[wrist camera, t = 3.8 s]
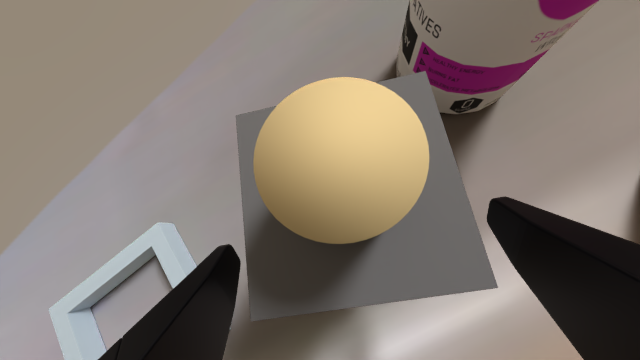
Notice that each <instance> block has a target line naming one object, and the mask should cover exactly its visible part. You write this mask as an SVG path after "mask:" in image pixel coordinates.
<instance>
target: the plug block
mask: <svg viewBox="0 0 640 360" xmlns="http://www.w3.org/2000/svg"><path fill="white" fill-rule="evenodd" d="M236 125H237V139H238V153H239V166H240V180H241V194H242V208H243V221H244V235H245V249H246V262H247V276H248V290H249V304H250V317H251V321H257V320H265V319H272V318H280V317H287V316H294V315H302V314H309V313H316V312H324V311H331V310H339V309H346V308H353V307H361V306H368V305H375V304H383V303H390V302H397V301H405V300H412V299H420V298H427V297H434V296H442V295H449V294H456V293H464V292H471V291H478V290H486V289H493V288H498V286H497V283H496V280H495V277H494V274H493V271H492V268H491V265H490V262H489V259H488V256H487V253H486V250H485V247H484V244H483V241H482V238H481V235H480V232H479V229H478V227H477V224H476V221H475V218H474V215H473V212H472V209H471V206H470V203H469V200H468V197H467V194H466V191H465V188H464V185H463V182H462V179H461V176H460V173H459V170H458V167H457V164H456V161H455V158H454V155H453V152H452V149H451V146H450V143H449V140H448V137H447V134H446V131H445V128H444V125H443V122H442V119H441V116H440V113H439V110H438V107H437V104H436V101H435V98H434V95H433V92H432V89H431V86H430V83H429V80H428V77H427V74H426V71H423V72H419V73H414V74H410V75H406V76H402V77H397V78H393V79H389V80H385V81H380V82H376V83H375V82H372V81H368V80H365V79H359V78H349V77H339V78H330V79H324V80H320V81H317V82H314V83H311V84H309V85H306V86H304V87H302V88H300V89H298V90H297V91H295V92H293V93H292V94H290V95H289V96H288V97H286V98H285V99H284V100H283V101H282V102H281V103H279V104H278V105H277V106H274V107H270V108H266V109H262V110H257V111H253V112H249V113H245V114H240V115H236Z"/></svg>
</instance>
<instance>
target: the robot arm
mask: <svg viewBox="0 0 640 360" xmlns="http://www.w3.org/2000/svg"><path fill="white" fill-rule="evenodd" d="M487 222H488V225H489V227H490V228H491V230H492V232H493V233H494V235H495V237H496V238H497V240H498V242H499V243H500V245H501V247H502V248H503V250H504V252H505V253H506V255H507V256H508V258H509V260H510V261H511V263H512V264H513V266H514V267H515V269H516V270H517V272H518V273H519V274H520V276H521V277H522V278H523V280H524V281H525V282H526V284H527V285H528V286H529V288H530V289H531V290H532V292H533V293H534V294H535V296H536V297H537V298H538V300H539V301H540V302H541V304H542V305H543V306H544V308H545V309H546V310H547V312H548V313H549V314H550V316H551V317H552V318H553V319H554V321H555V322H556V323H557V325H558V326H559V327H560V329H561V330H562V331H563V333H564V334H565V335H566V337H567V338H568V339H569V341H570V342H571V343H572V345H573V346H574V347H575V349H576V350H577V351H578V353H579V354H580V355H581V357H582V358H583V359H584V360H640V245H639V244H637V243H634V242H631V241H628V240H626V239H623V238H620V237H617V236H614V235H612V234H609V233H606V232H603V231H601V230H598V229H595V228H592V227H589V226H587V225H584V224H581V223H578V222H576V221H573V220H570V219H567V218H564V217H562V216H559V215H556V214H553V213H551V212H548V211H545V210H542V209H539V208H537V207H534V206H531V205H528V204H525V203H523V202H520V201H517V200H514V199H512V198H509V197H499V198H493V199H491V201H490V203H489V208H488V214H487ZM239 273H240V259H239V257H238V255H237V254H236V252H235V250H234V248H233V247H232V246H231V245H230V244H227V245H221V246H219V247H217V248H216V249H215V250H214V251H213V252H212V253H211V254H210V255H209V256H208V257H207V258H206V259H204V260H203V261H202V262H201V263H200V264H199V265H198V266H197V267H196V268H195V269H194V270H193V271H192V272H191V273H190V274H189V275H187V276H186V277H185V278H184V279H183V280H182V281H181V282H180V283H179V284H178V285H177V286H176V287H175V288H174V289H173V290H171V291H170V292H169V293H168V294H167V295H166V296H165V297H164V298H163V299H162V300H161V301H160V302H159V303H158V304H157V305H155V306H154V307H153V308H152V309H151V310H150V311H149V312H148V313H147V314H146V315H145V316H144V317H143V318H142V319H141V320H140V321H138V322H137V323H136V324H135V325H134V326H133V327H132V328H131V329H130V330H129V331H128V332H127V333H126V334H125V335H124V336H123V338H120V339H119V340H118V341H117V342H116V343H115V344H114V345H113V346H112V347H111V348H110V349H109V350H108V351H106V352H105V353H104V354H103V355H102V356H101V357H100V358H99V359H98V360H222V359H223V355H224V350H225V346H226V342H227V338H228V334H229V329H230V325H231V321H232V317H233V312H234V308H235V302H236V295H237V288H238V280H239Z"/></svg>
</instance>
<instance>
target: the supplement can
mask: <svg viewBox="0 0 640 360" xmlns="http://www.w3.org/2000/svg"><path fill="white" fill-rule="evenodd" d="M598 1H599V0H410V1H409V6H408V10H407V15H406V19H405V24H404V28H403V33H402V37H401V42H400V46H399V51H398V55H397V77H402V76H406V75H410V74H414V73H419V72H423V71H426V74H427V77H428V80H429V83H430V86H431V89H432V92H433V95H434V98H435V101H436V104H437V107H438V110H439V112H442V113H449V114H462V113H468V112H475V111H479V110H481V109H483V108H485V107H487V106H489V105H490V104H492V103H494V102H496V101H497V100H498V99H499V98H500V97H501V96H502V95H503V94H504V93H505V92H506V91H507V90H508V89H509V88H510V87H511V86H512V85H513V84H514V83H516V82H517V81H518V80H519V79H520V78H521V77H522V76H523V75H524V74H525V73H526V72H527V71H528V70H529V69H530V68H531V67H532V66H533V65H534V64H535V63H536V62H537V61H538V60H539V59H540V58H541V57H542V56H543V55H544V54H545V53H546V52H547V51H548V50H549V49H550V48H551V47H552V46H553V45H554V44H555V43H556V42H557V41H558V40H559V39H560V38H561V37H562V36H563V35H564V34H565V33H566V32H567V31H568V30H569V29H570V28H571V27H572V26H573V25H574V24H575V23H576V22H577V21H578V20H579V19H580V18H581V17H582V16H583V15H584V14H585V13H586V12H587V11H588V10H589V9H591V8H592V7H593V6H594V5H595V4H596V3H597V2H598Z"/></svg>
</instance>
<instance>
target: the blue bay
mask: <svg viewBox="0 0 640 360" xmlns="http://www.w3.org/2000/svg"><path fill="white" fill-rule="evenodd" d="M155 255H156V256H157V258H158V260H159V262H160V264H161V266H162V268H163V270H164V272H165V274H166V276H167V278H168V280H169V282H170V284H171V286H172V288H173V289H174V288H175V287H176V286H177V285H178V284H179V283H180V282H181V281H182V280H183V279H184V278H185V277H186V276H187V275H189V274H190V273H191V272H192V271H193V270H194V269H195V268H196V267H197V266H196V264H195V262H194V260H193V259H192V257H191V255H190V253H189V251H188V250H187V248H186V246H185V244H184V242H183V241H182V239H181V237H180V235H179V233H178V231H177V230H176V228H175V226H174V224H173V223H161V222H158V223H156V224H155V225H154V226H153V227H151V228H150V229H149V230H148V231H146V232H145V233H144V234H143V235H141V236H140V237H139V238H137V239H136V240H135V241H134V242H132V243H131V244H130V245H129V246H127V247H126V248H125V249H124V250H122V251H121V252H120V253H119V254H117V255H116V256H115V257H114V258H112V259H111V260H110V261H108V262H107V263H106V264H105V265H103V266H102V267H101V268H100V269H98V270H97V271H96V272H95V273H93V274H92V275H91V276H90V277H88V278H87V279H86V280H85V281H83V282H82V283H81V284H80V285H78V286H77V287H76V288H74V289H73V290H72V291H71V292H69V293H68V294H67V295H66V296H64V297H63V298H62V299H61V300H59V301H58V302H57V303H56V304H54V305H53V306H52V307H51V308H49V313H50V316H51V319H52V322H53V325H54V328H55V331H56V334H57V338H58V341H59V344H60V347H61V350H62V353H63V356H64V359H65V360H98V359H99V358H100V357H101V356H102V355H103V354H104V353H105V352H106V349H105V346H104V343H103V341H102V338H101V335H100V333H99V330H98V327H97V325H96V322H95V319H94V317H93V314H92V311H91V309H90V307H91V306H92V305H94V304H95V303H96V302H97V301H99V300H100V299H101V298H102V297H104V296H105V295H106V294H107V293H109V292H110V291H111V290H112V289H114V288H115V287H116V286H117V285H119V284H120V283H121V282H122V281H124V280H125V279H126V278H127V277H129V276H130V275H131V274H132V273H134V272H135V271H136V270H137V269H139V268H140V267H141V266H142V265H144V264H145V263H146V262H147V261H149V260H150V259H151V258H152V257H154V256H155ZM230 330H231V328H230V329H229V331H230Z"/></svg>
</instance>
